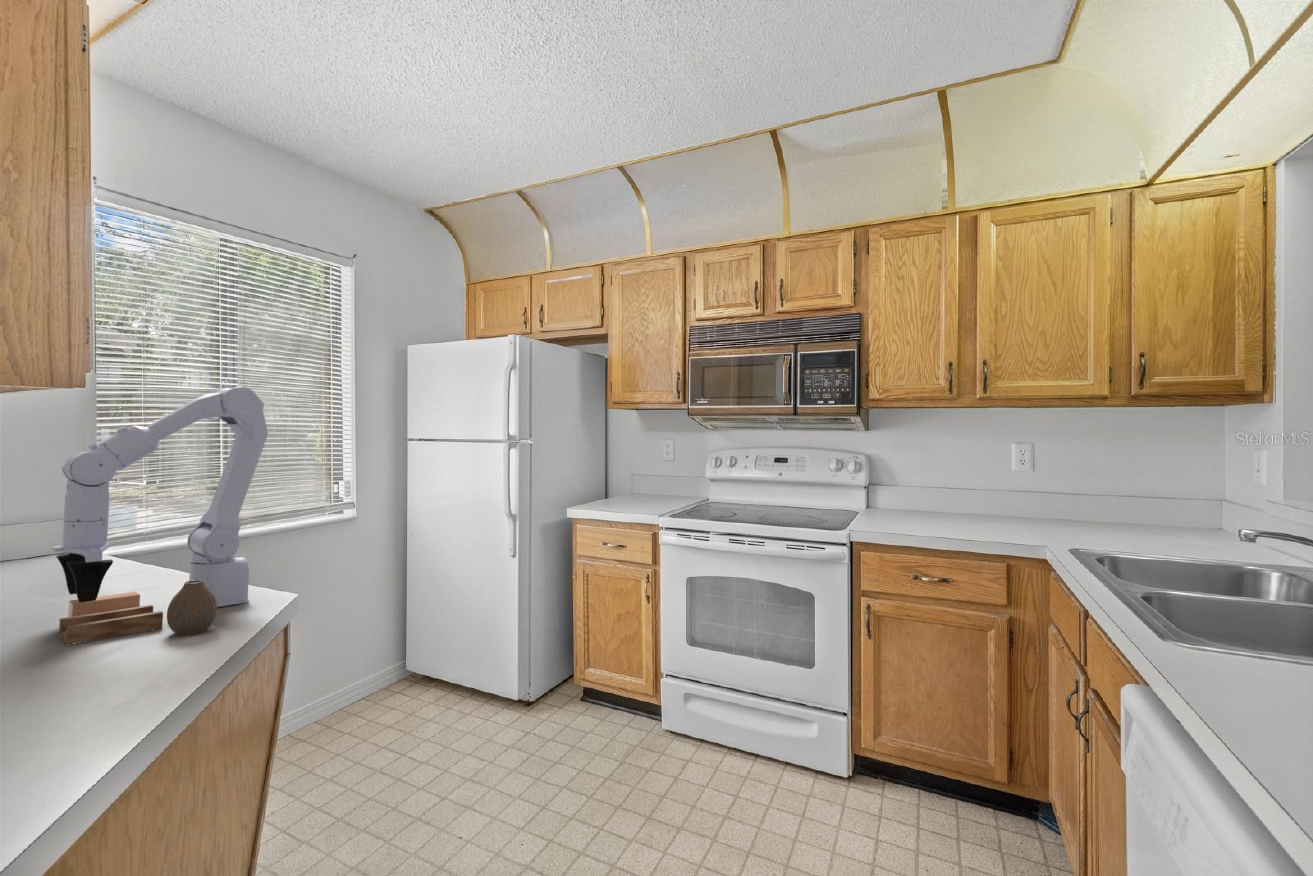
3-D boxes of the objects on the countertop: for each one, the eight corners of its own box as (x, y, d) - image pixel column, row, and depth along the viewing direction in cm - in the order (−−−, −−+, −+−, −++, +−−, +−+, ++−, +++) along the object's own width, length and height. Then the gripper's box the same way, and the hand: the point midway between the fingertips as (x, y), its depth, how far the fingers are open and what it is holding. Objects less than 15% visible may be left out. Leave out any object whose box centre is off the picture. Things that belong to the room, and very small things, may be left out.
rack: (150, 620, 109) (151, 604, 109) (162, 628, 105) (163, 612, 105) (58, 635, 100) (59, 618, 100) (67, 645, 95) (68, 627, 95)
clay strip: (134, 615, 112) (135, 591, 112) (138, 618, 110) (140, 594, 110) (67, 626, 105) (69, 600, 105) (71, 630, 103) (72, 604, 103)
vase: (220, 632, 104) (222, 582, 104) (169, 641, 99) (172, 588, 99) (211, 623, 109) (213, 575, 109) (162, 631, 104) (165, 580, 104)
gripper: (46, 517, 106) (42, 593, 106) (63, 526, 98) (58, 609, 98) (99, 514, 112) (96, 587, 112) (120, 523, 103) (115, 601, 103)
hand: (82, 597), depth 105 cm, fingers open, 7 cm apart
